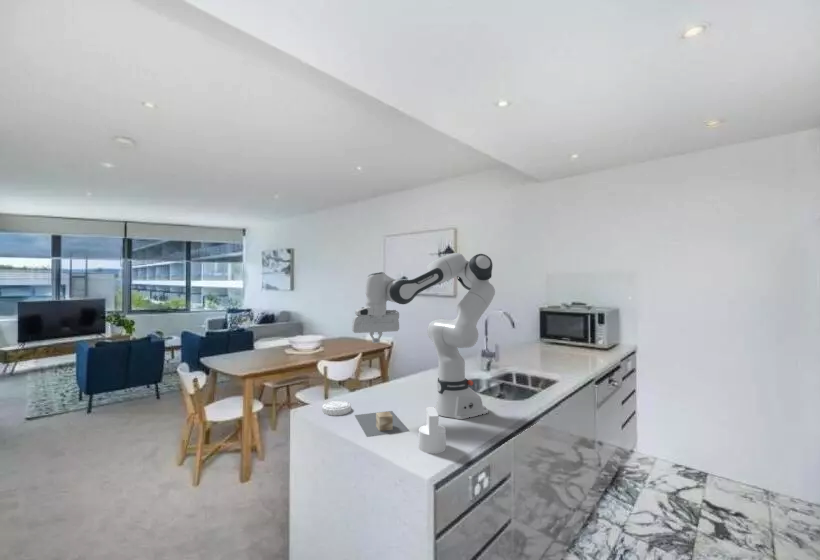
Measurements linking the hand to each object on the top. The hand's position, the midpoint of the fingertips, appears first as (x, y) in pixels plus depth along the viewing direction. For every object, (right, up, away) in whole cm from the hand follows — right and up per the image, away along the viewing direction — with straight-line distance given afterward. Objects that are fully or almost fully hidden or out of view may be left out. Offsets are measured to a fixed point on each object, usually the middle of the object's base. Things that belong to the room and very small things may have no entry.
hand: (375, 342), depth 163 cm
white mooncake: (-16, -30, -1) cm, 34 cm away
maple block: (+5, -24, -20) cm, 32 cm away
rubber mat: (+3, -29, -15) cm, 33 cm away
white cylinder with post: (+22, -29, -36) cm, 51 cm away
